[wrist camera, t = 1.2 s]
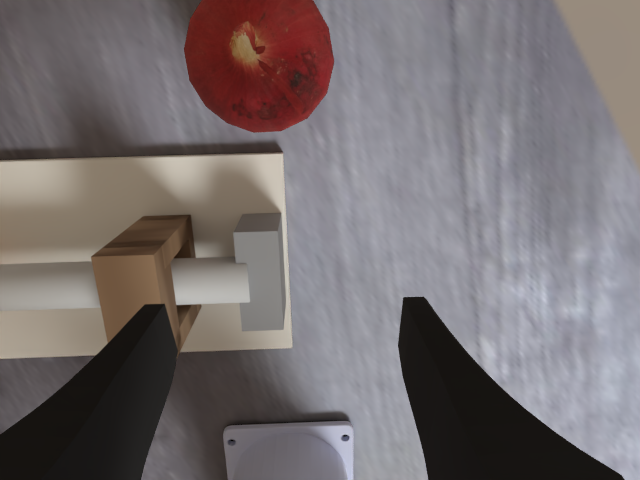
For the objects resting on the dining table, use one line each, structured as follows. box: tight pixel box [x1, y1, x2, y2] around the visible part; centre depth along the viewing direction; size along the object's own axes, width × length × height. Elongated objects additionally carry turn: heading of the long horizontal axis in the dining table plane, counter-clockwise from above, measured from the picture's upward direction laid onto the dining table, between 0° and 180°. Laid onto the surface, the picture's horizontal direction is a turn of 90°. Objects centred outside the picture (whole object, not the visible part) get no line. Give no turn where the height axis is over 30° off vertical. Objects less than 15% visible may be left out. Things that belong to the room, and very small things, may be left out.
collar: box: [91, 215, 202, 357], centre depth 21 cm, size 2×5×6 cm, turn 1°
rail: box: [0, 152, 293, 359], centre depth 22 cm, size 24×11×5 cm, turn 91°
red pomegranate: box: [184, 0, 334, 133], centre depth 18 cm, size 6×6×8 cm
